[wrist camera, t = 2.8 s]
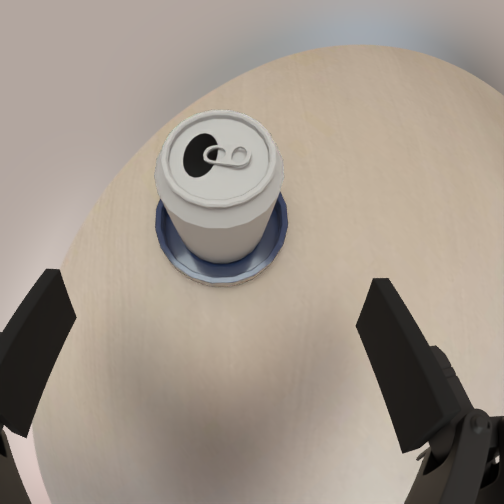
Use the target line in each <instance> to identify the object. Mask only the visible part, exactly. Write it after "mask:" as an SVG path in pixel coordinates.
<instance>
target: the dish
mask: <svg viewBox="0 0 504 504" xmlns="http://www.w3.org/2000/svg"><path fill="white" fill-rule="evenodd" d="M155 228H156V229H155V230H156V233H157V237H158V240H159V244H160V247H161V249H162V250H163V252H164V253H165V255H166V256H167V257H168V259H169V260H170V262H171V263H172V264H173V265H174V266H175V268H176V269H177V270H179V271H180V272H182V273H183V274H184V275H186V276H187V277H189V278H190V279H191V280H193V281H196V282H198V283H201V284H205V285H209V286H213V287H227V286H235V285H238V284H241V283H244V282H247V281H249V280H251V279H253V278H255V277H256V276H257V275H259V274H260V273H262V272H263V271H264V270H265V269H266V268H267V267H268V266H269V265H270V264H271V262H272V261H273V260H274V258H275V256H276V255H277V253H278V252H279V250H280V249H281V247H282V246H283V244H284V240H285V236H286V232H287V228H288V218H287V206H286V203H285V201H284V199H283V197H282V194H281V192H280V193H279V196H278V198H277V201H276V203H275V206H274V208H273V211H272V213H271V216H270V218H269V221H268V223H267V226H266V228H265V231H264V233H263V236H262V238H261V241H260V242H259V243H258V245H257V246H256V247H255V249H254V250H253V251H252V252H251V253H249V254H248V255H247V256H245V257H244V258H242V259H241V260H237V261H234V262H231V263H211V262H208V261H205V260H202V259H200V258H198V257H197V256H196V255H194V254H193V253H192V252H190V251H189V250H188V248H187V247H186V245H185V244H184V242H183V241H182V239H181V237H180V235H179V234H178V232H177V230H176V228H175V226H174V224H173V222H172V220H171V218H170V216H169V214H168V212H167V210H166V208H165V206H164V204H163V202H162V200H161V198H160V201H159V203H158V206H157V209H156V222H155Z"/></svg>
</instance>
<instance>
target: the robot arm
mask: <svg viewBox="0 0 504 504" xmlns="http://www.w3.org/2000/svg"><path fill="white" fill-rule="evenodd" d="M76 318H77V317H76V314H75V312H74V309H73V307H72V304H71V301H70V299H69V296H68V293H67V290H66V287H65V284H64V282H63V279H62V275H61V272H60V269H46V270H45V271H44V272H43V274H42V275H41V276H40V278H39V279H38V280H37V282H36V283H35V284H34V286H33V287H32V288H31V290H30V291H29V293H28V294H27V295H26V297H25V298H24V300H23V301H22V303H21V304H20V306H19V307H18V309H17V310H16V312H15V313H14V315H13V316H12V318H11V319H10V321H9V322H8V324H7V326H6V327H5V329H4V330H3V332H0V504H31V501H30V499H29V497H28V495H27V492H26V490H25V488H24V486H23V483H22V480H21V478H20V475H19V473H18V470H17V467H16V465H15V462H14V459H13V456H12V453H11V450H10V446H9V443H8V440H7V436H6V434H5V432H4V430H3V426H4V425H5V426H6V427H7V428H8V429H9V430H11V432H13V433H16V434H18V435H20V436H22V437H25V438H27V435H28V432H29V429H30V426H31V423H32V420H33V417H34V415H35V412H36V409H37V406H38V404H39V401H40V398H41V396H42V393H43V391H44V388H45V386H46V383H47V381H48V378H49V376H50V374H51V371H52V369H53V367H54V364H55V362H56V360H57V358H58V355H59V353H60V351H61V349H62V347H63V344H64V342H65V340H66V338H67V336H68V334H69V332H70V330H71V328H72V326H73V324H74V322H75V320H76ZM356 328H357V330H358V333H359V335H360V338H361V340H362V343H363V345H364V348H365V350H366V353H367V355H368V358H369V360H370V363H371V365H372V368H373V371H374V373H375V376H376V378H377V381H378V384H379V387H380V389H381V392H382V395H383V398H384V400H385V403H386V406H387V409H388V412H389V414H390V417H391V420H392V423H393V426H394V429H395V432H396V435H397V438H398V441H399V444H400V448H401V451H402V454H403V453H406V452H409V451H412V450H415V449H418V448H420V447H422V446H423V445H424V444H425V443H426V442H429V445H430V447H429V448H428V449H426V450H425V451H424V452H422V453H421V454H420V455H419V456H418V457H417V459H416V460H418V461H419V460H420V459H421V458H423V457H424V459H423V461H422V464H421V467H420V469H419V472H418V474H417V476H416V479H415V481H414V483H413V486H412V488H411V490H410V492H409V494H408V496H407V499H406V501H405V503H404V504H504V416H496V417H489V416H488V414H487V413H486V412H484V411H483V410H481V409H474V407H473V406H472V404H471V402H470V400H469V398H468V396H467V394H466V392H465V390H464V388H463V386H462V384H461V382H460V380H459V378H458V377H457V376H456V373H455V371H454V369H453V367H451V364H450V362H449V360H448V358H447V356H446V355H445V353H443V352H442V351H441V350H440V349H439V348H438V347H437V346H436V345H435V346H429V344H428V343H427V341H426V339H425V337H424V336H423V334H422V332H421V330H420V329H419V327H418V325H417V324H416V322H415V320H414V318H413V317H412V315H411V313H410V312H409V310H408V308H407V307H406V305H405V304H404V302H403V300H402V299H401V297H400V296H399V294H398V292H397V291H396V289H395V288H394V286H393V284H392V283H391V281H390V280H389V278H373V280H372V283H371V286H370V289H369V292H368V294H367V297H366V300H365V303H364V305H363V308H362V311H361V313H360V316H359V319H358V321H357V324H356ZM497 456H499V462H498V463H497V464H496V462H495V458H496V457H497Z"/></svg>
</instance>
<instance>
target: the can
mask: <svg viewBox="0 0 504 504" xmlns="http://www.w3.org/2000/svg"><path fill="white" fill-rule="evenodd" d="M154 177H155V182H156V186H157V191H158V194H159V196H160V198H161V200H162V202H163V204H164V206H165V208H166V210H167V212H168V214H169V216H170V218H171V220H172V222H173V224H174V226H175V228H176V230H177V232H178V234H179V235H180V237H181V239H182V241H183V242H184V244H185V245H186V247H187V248H188V250H189V251H190V252H192V253H193V254H194V255H196V256H197V257H198V258H200V259H202V260H205V261H208V262H211V263H231V262H234V261H237V260H241V259H242V258H244V257H245V256H247V255H248V254H249V253H251V252H252V251H253V250H254V249H255V247H256V246H257V245H258V243H259V242H260V241H261V238H262V236H263V233H264V231H265V228H266V226H267V223H268V221H269V218H270V216H271V213H272V211H273V208H274V206H275V203H276V201H277V198H278V196H279V193H280V189H281V186H282V183H283V180H284V164H283V158H282V156H281V154H280V151H279V149H278V147H277V144H276V143H275V142H274V141H273V138H272V136H271V134H270V133H269V132H268V130H267V129H266V128H265V127H264V126H263V125H262V124H261V123H260V122H259V121H257V120H255V119H253V118H252V117H250V116H248V115H246V114H243V113H240V112H236V111H232V110H209V111H205V112H201V113H197V114H195V115H193V116H191V117H189V118H187V119H185V120H183V121H182V122H180V123H179V124H178V125H177V126H176V127H175V128H174V129H173V130H172V131H171V132H170V133H169V135H168V137H167V139H166V141H165V142H164V144H163V146H162V150H161V151H160V153H159V155H158V157H157V161H156V167H155V174H154Z"/></svg>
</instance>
